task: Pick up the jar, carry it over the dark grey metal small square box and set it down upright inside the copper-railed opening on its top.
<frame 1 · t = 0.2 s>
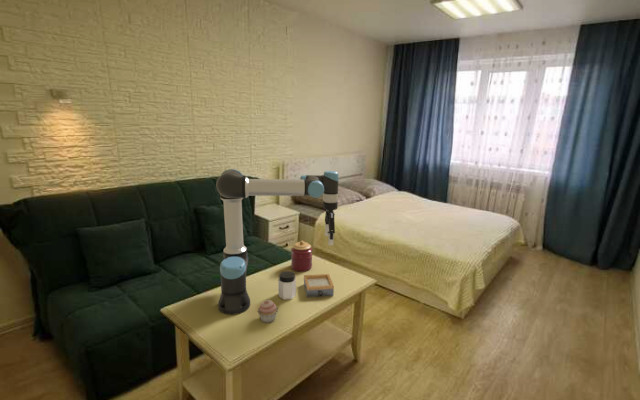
hand: (329, 240, 175), 27 cm above the table, fingers open, 13 cm apart
jar: (287, 295, 172), on the table
small square box: (318, 289, 179), on the table
canister: (301, 267, 205), on the table
cupcake: (267, 319, 151), on the table
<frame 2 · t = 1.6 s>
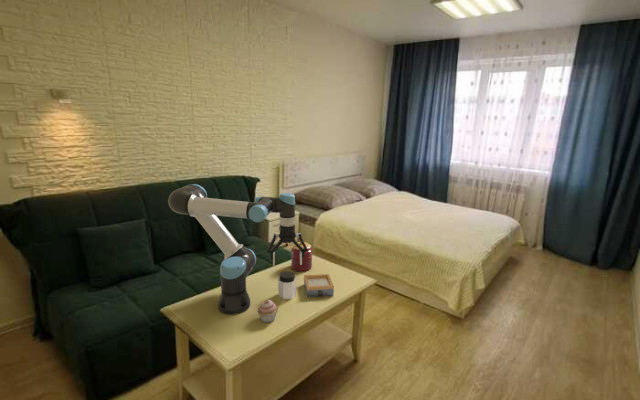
hand: (287, 264, 168), 17 cm above the table, fingers open, 13 cm apart
nothing on the table moved.
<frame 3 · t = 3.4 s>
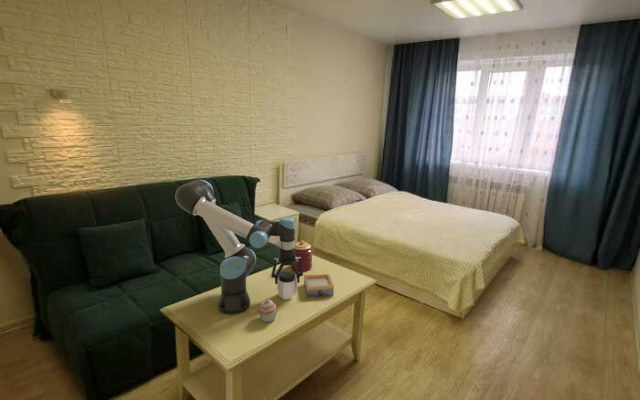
hand: (287, 288, 171), 4 cm above the table, fingers closed on jar, 9 cm apart
jar: (287, 295, 172), on the table, touching gripper
everything else where it was.
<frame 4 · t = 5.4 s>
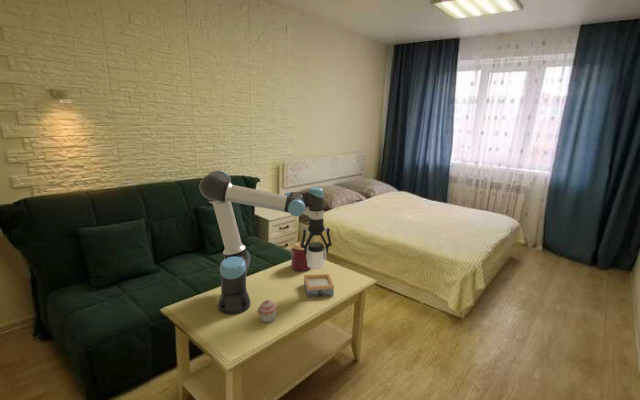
hand: (316, 259, 173), 18 cm above the table, fingers closed on jar, 9 cm apart
jar: (315, 266, 174), point 14 cm above the table, touching gripper
everything else where it was.
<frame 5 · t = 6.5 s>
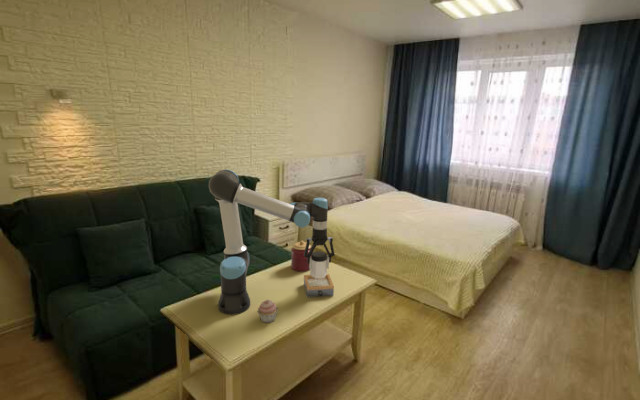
hand: (318, 268, 176), 13 cm above the table, fingers closed on jar, 9 cm apart
jar: (318, 275, 177), point 9 cm above the table, touching gripper
everything else where it was.
when the fingers open (9 cm above the table, at t = 7.5 s): jar drops 1 cm, resting on small square box.
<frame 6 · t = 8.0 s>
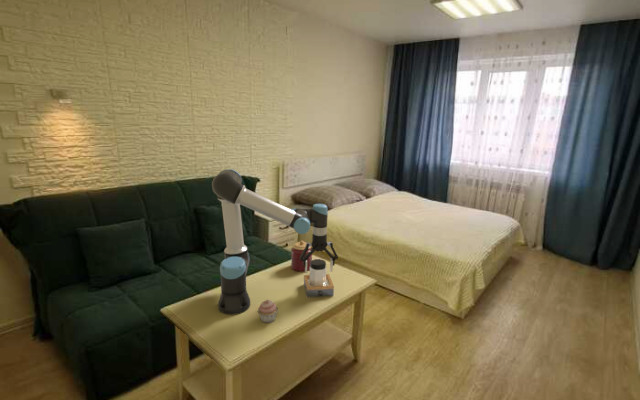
hand: (318, 271, 176), 11 cm above the table, fingers open, 13 cm apart
jar: (317, 283, 178), point 4 cm above the table, touching small square box
everything else where it was.
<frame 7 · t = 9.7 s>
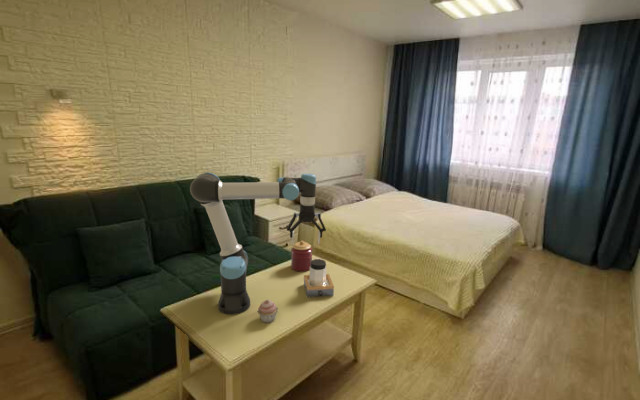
hand: (305, 243, 174), 26 cm above the table, fingers open, 13 cm apart
nothing on the table moved.
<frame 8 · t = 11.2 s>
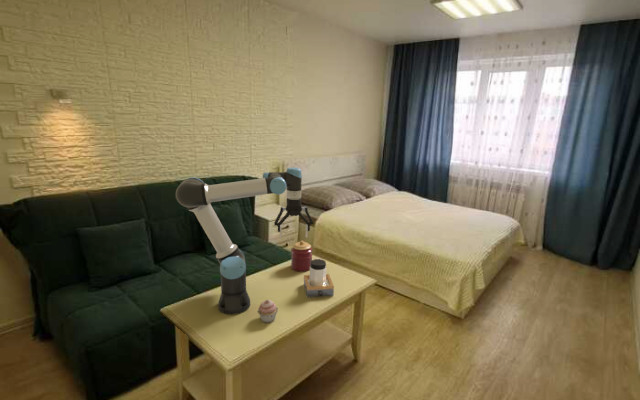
hand: (293, 237, 175), 29 cm above the table, fingers open, 13 cm apart
nothing on the table moved.
at the end: jar inside the target area on the small square box (0.4 cm from its centre), point 4.0 cm above the small square box's base; jar tilted 0°; the gripper is holding nothing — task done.
